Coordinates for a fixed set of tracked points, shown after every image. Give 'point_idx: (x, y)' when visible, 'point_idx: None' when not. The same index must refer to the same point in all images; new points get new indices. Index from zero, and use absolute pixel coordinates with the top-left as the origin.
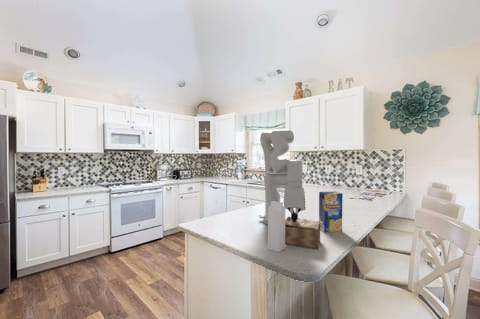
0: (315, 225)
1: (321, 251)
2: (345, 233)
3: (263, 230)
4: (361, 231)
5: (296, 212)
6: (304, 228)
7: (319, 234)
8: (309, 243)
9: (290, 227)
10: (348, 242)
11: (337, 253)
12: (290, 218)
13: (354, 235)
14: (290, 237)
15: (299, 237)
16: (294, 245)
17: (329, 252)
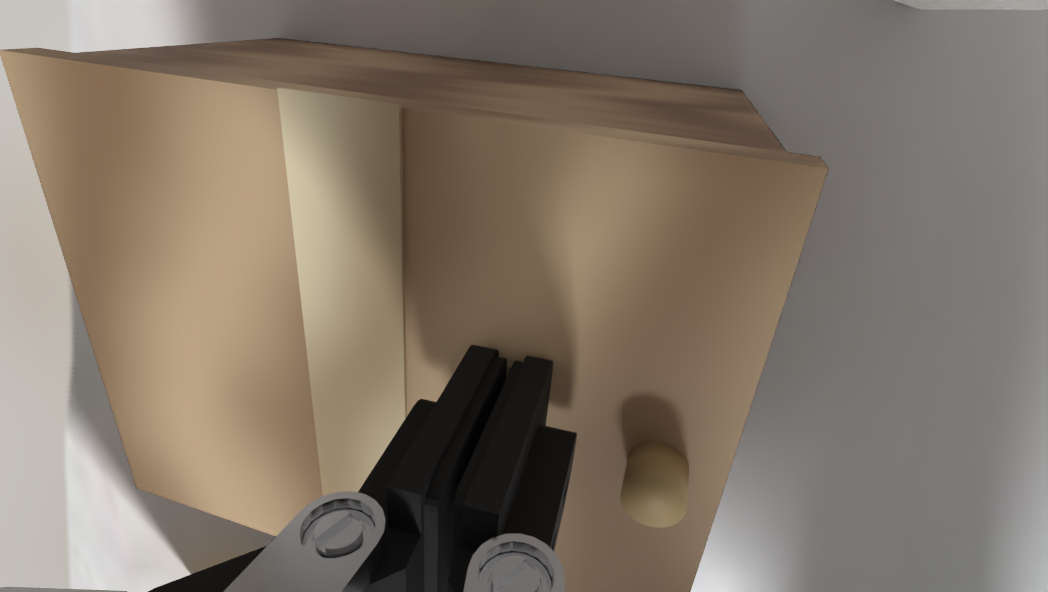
0: (109, 271)
1: (236, 7)
2: (164, 541)
3: (1043, 569)
4: (85, 584)
5: (336, 542)
6: None
7: None
8: (339, 54)
9: None
10: (91, 350)
11: (84, 12)
12: (613, 567)
13: (100, 507)
14: (621, 93)
15: (457, 78)
16: (570, 73)
17: (157, 10)
